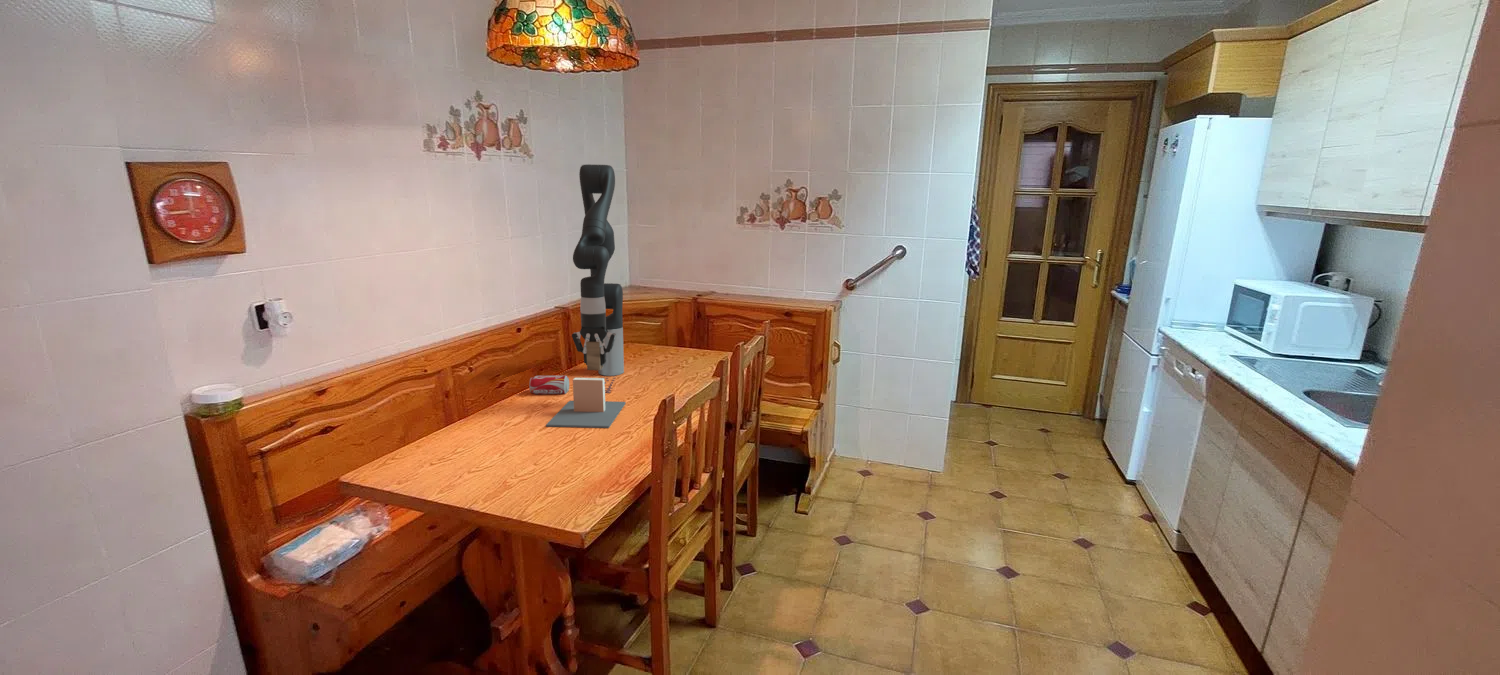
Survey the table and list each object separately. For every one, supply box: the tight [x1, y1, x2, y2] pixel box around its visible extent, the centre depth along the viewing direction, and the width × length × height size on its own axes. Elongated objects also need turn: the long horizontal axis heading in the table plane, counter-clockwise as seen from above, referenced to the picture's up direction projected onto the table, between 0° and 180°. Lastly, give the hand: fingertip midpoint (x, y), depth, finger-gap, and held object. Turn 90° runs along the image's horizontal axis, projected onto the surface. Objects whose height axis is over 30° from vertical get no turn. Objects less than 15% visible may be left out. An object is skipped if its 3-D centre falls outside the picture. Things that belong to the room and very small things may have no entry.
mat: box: [545, 400, 626, 429], centre depth 183 cm, size 22×18×1 cm
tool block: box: [586, 341, 603, 371], centre depth 190 cm, size 4×4×9 cm
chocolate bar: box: [605, 377, 616, 394], centre depth 212 cm, size 7×19×2 cm, turn 4°
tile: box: [572, 377, 606, 412], centre depth 184 cm, size 2×9×10 cm, turn 89°
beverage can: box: [528, 375, 570, 395], centre depth 202 cm, size 6×6×12 cm
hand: (595, 364), depth 190 cm, fingers closed on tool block, 4 cm apart
